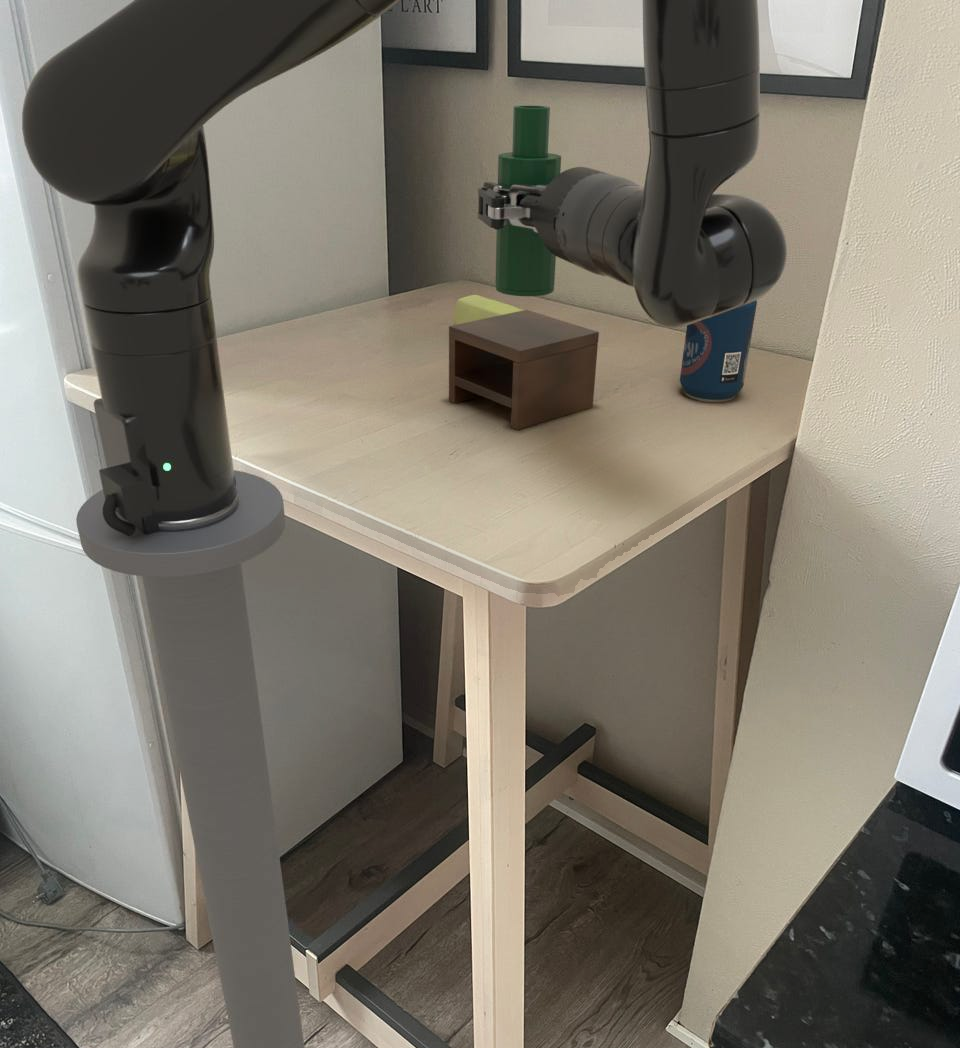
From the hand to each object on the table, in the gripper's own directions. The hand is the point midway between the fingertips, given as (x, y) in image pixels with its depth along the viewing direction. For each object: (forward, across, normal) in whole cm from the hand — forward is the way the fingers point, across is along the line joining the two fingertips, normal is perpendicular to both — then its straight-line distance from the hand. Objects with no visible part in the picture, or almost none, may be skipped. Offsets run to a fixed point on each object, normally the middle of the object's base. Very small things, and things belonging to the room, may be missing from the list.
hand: (517, 192), depth 95 cm
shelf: (-1, -1, +21) cm, 21 cm away
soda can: (-5, -22, +21) cm, 31 cm away
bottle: (-2, 0, +8) cm, 9 cm away
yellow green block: (+21, -9, +21) cm, 31 cm away
